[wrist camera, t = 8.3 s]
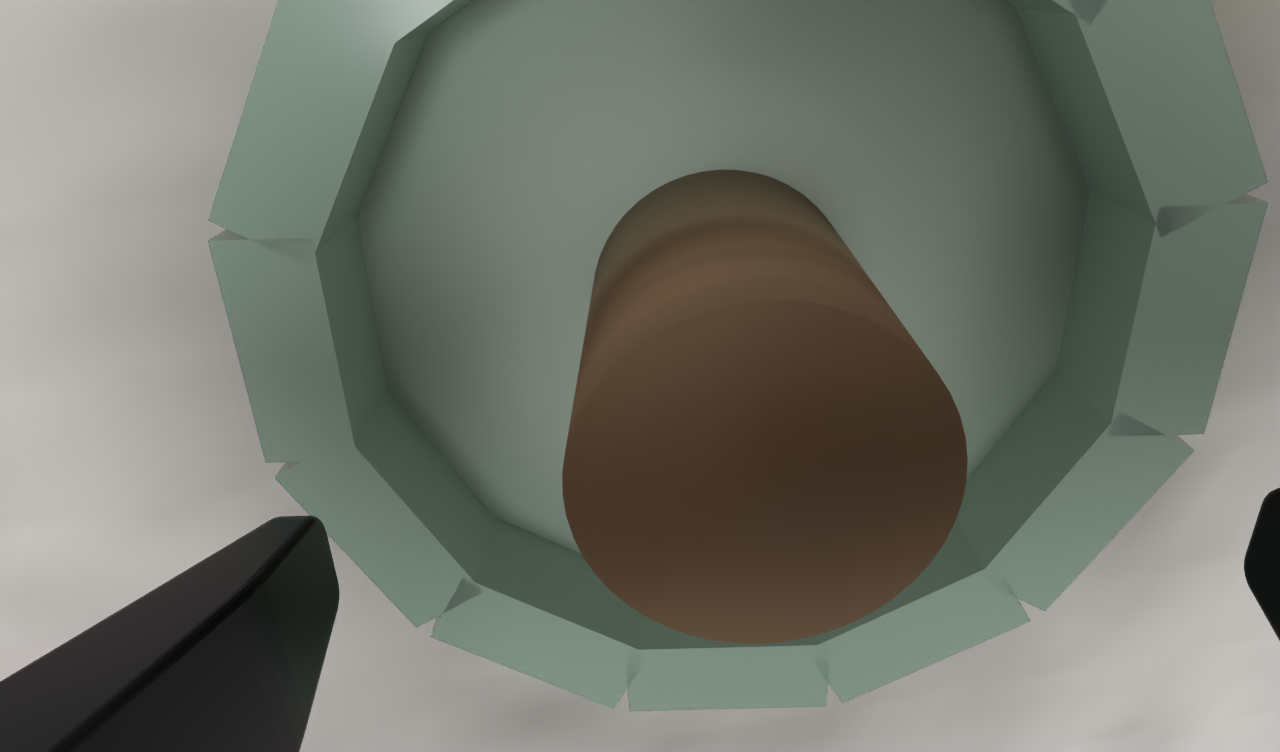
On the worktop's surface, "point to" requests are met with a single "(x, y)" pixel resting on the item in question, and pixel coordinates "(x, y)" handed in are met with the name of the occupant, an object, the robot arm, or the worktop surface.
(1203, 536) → the worktop surface
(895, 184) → the dish
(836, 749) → the worktop surface
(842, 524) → the brown cylinder
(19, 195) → the worktop surface
